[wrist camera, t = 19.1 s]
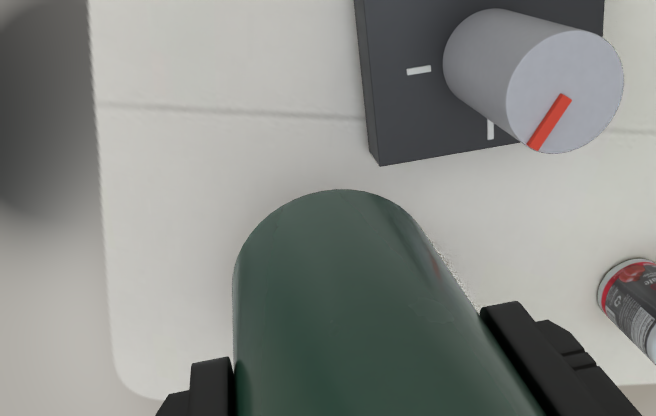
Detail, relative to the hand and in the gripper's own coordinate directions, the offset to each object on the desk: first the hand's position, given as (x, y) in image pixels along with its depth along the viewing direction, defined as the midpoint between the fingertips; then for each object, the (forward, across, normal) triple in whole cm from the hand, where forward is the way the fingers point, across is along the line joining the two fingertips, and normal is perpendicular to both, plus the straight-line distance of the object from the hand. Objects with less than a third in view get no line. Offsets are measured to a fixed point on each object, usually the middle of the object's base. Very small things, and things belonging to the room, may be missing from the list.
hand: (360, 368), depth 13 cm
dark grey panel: (+28, -12, 0) cm, 30 cm away
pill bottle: (+28, -24, +20) cm, 42 cm away
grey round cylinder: (+24, -12, 0) cm, 27 cm away
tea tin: (+3, 0, 0) cm, 3 cm away
